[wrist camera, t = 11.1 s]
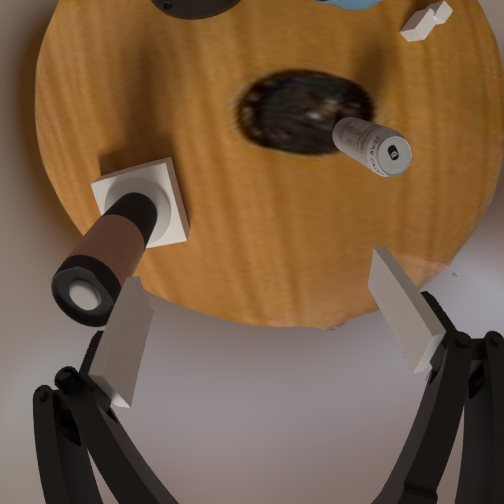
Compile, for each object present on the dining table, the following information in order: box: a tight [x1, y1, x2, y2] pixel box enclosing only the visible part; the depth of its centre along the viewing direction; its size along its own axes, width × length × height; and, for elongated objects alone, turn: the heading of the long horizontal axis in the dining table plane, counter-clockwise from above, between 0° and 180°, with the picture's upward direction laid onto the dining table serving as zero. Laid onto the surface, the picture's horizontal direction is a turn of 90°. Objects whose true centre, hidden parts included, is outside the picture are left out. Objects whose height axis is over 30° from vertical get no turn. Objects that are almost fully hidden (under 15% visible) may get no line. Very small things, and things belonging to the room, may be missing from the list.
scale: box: [91, 157, 190, 248], centre depth 42 cm, size 13×14×5 cm
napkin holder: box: [399, 1, 453, 42], centre depth 26 cm, size 15×11×6 cm
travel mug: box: [51, 192, 158, 327], centre depth 32 cm, size 8×8×20 cm
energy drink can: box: [333, 117, 412, 177], centre depth 34 cm, size 6×6×15 cm
